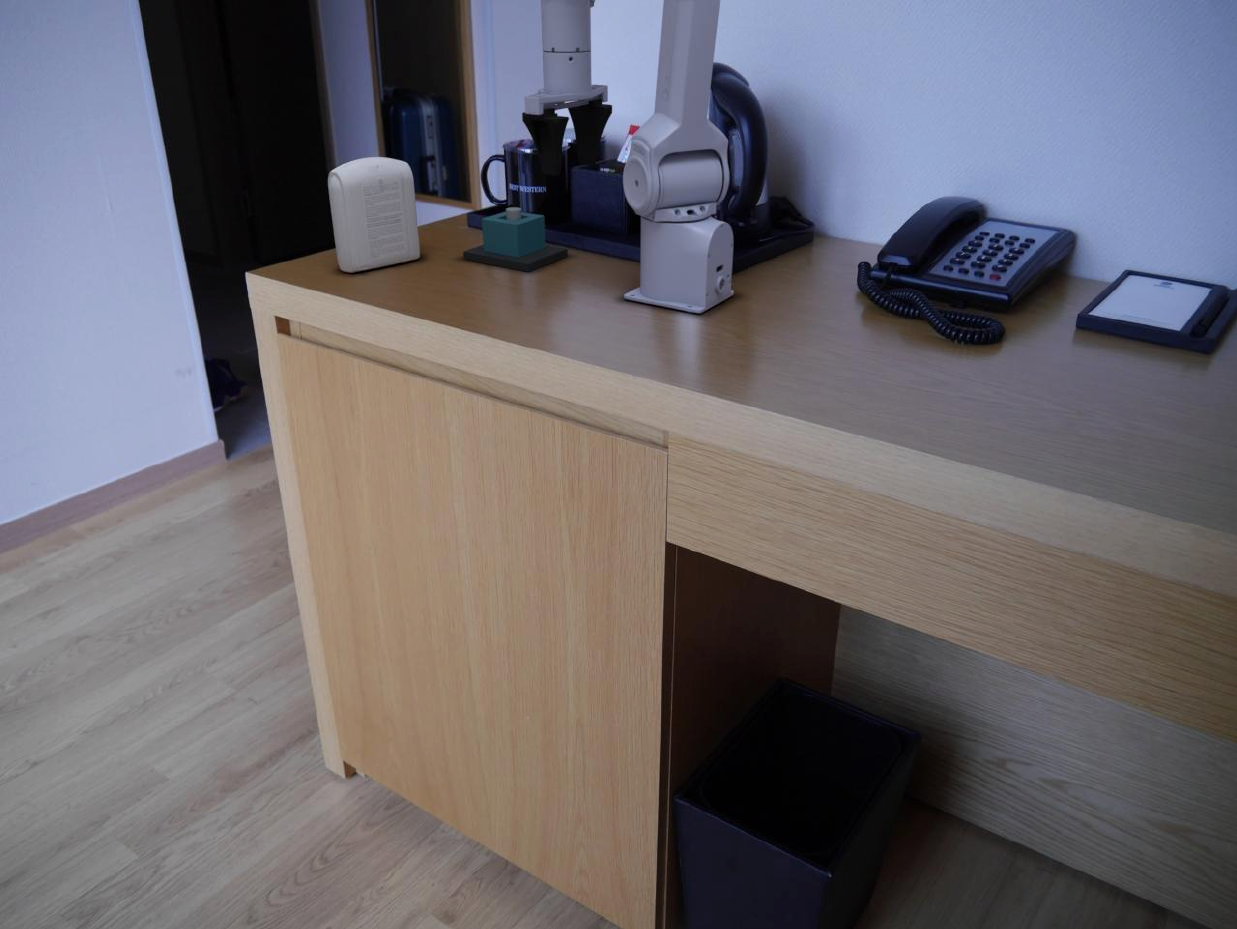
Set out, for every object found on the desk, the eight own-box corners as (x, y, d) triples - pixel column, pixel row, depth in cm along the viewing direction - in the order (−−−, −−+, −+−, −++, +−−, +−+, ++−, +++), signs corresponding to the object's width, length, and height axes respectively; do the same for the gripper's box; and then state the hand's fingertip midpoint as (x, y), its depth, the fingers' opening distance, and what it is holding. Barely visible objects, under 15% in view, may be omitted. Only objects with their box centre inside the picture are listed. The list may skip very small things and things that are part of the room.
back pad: (567, 256, 119) (566, 207, 116) (528, 272, 113) (526, 220, 110) (504, 245, 123) (501, 197, 121) (463, 259, 117) (459, 210, 115)
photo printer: (407, 252, 120) (396, 150, 114) (426, 259, 117) (416, 154, 112) (333, 269, 114) (317, 161, 108) (351, 276, 111) (337, 166, 105)
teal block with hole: (545, 248, 118) (544, 215, 116) (518, 258, 114) (517, 224, 112) (511, 242, 121) (509, 210, 119) (483, 251, 117) (481, 218, 115)
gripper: (574, 45, 120) (576, 157, 127) (501, 53, 110) (507, 175, 116) (621, 47, 117) (621, 162, 123) (551, 56, 106) (555, 181, 113)
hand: (569, 169), depth 119 cm, fingers open, 7 cm apart
